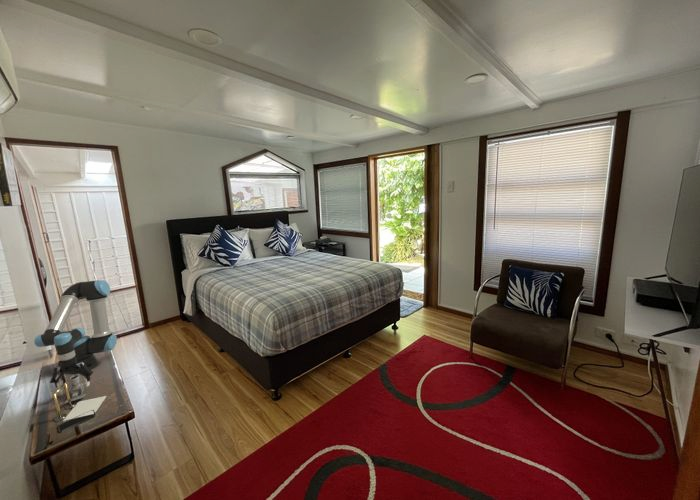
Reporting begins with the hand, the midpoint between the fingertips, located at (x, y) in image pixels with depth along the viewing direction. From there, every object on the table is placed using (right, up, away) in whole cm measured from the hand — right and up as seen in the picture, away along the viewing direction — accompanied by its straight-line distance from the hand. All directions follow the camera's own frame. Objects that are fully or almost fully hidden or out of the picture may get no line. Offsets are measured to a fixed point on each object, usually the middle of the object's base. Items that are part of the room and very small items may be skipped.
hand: (74, 388), depth 177 cm
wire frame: (+6, -8, -11) cm, 15 cm away
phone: (+20, -10, -18) cm, 29 cm away
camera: (0, -6, +1) cm, 6 cm away
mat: (+16, -8, -9) cm, 19 cm away
